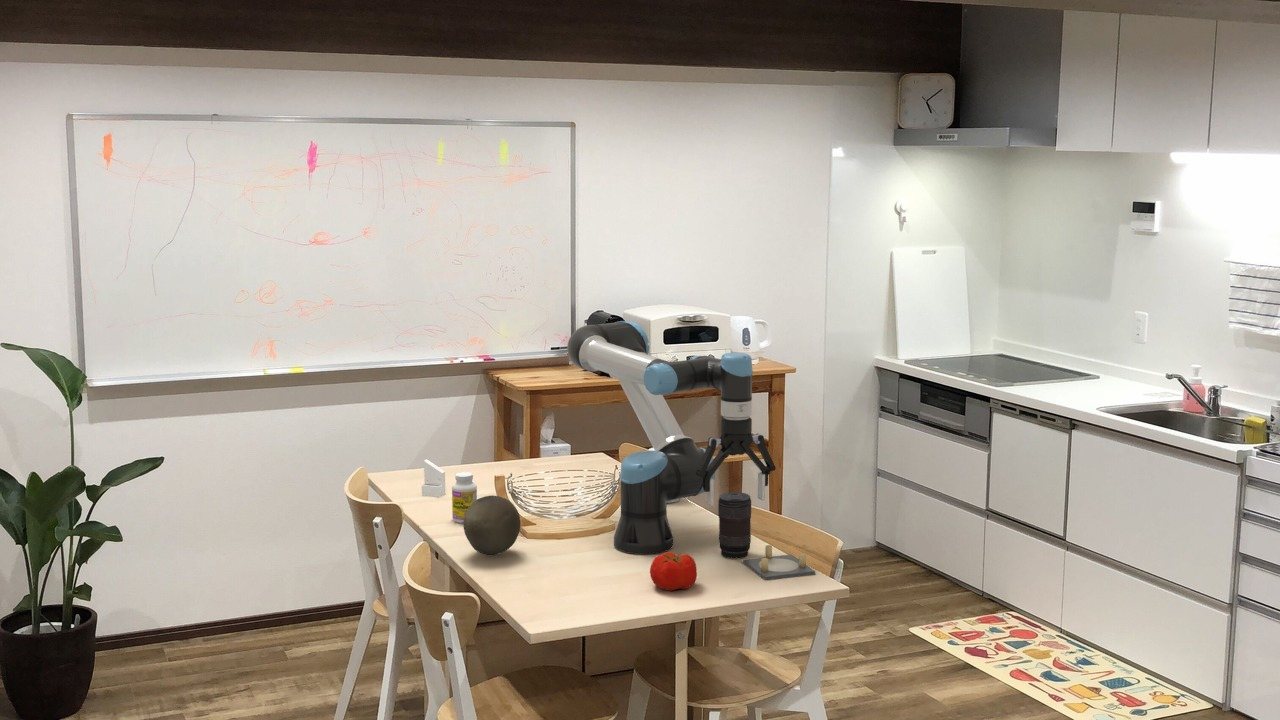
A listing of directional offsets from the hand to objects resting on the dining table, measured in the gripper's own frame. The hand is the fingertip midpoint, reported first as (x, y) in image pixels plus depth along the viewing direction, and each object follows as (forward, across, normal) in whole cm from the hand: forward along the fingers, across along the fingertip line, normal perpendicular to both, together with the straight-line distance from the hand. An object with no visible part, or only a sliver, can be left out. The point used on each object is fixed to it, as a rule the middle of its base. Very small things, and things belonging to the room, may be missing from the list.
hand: (735, 501), depth 303 cm
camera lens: (+14, 0, 0) cm, 14 cm away
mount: (+14, +6, -13) cm, 19 cm away
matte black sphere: (+13, -57, +18) cm, 62 cm away
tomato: (+14, -22, -17) cm, 31 cm away
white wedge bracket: (+13, -62, +78) cm, 101 cm away
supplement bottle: (+13, -58, +50) cm, 78 cm away
